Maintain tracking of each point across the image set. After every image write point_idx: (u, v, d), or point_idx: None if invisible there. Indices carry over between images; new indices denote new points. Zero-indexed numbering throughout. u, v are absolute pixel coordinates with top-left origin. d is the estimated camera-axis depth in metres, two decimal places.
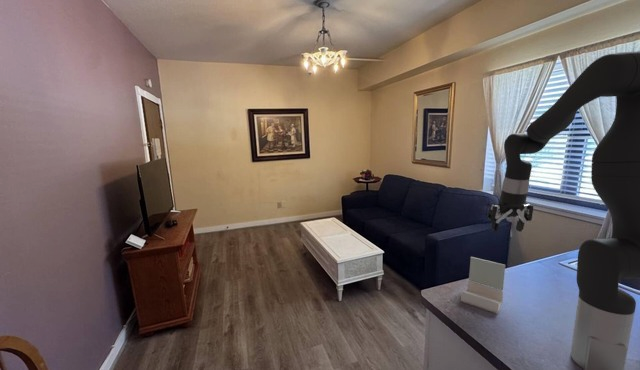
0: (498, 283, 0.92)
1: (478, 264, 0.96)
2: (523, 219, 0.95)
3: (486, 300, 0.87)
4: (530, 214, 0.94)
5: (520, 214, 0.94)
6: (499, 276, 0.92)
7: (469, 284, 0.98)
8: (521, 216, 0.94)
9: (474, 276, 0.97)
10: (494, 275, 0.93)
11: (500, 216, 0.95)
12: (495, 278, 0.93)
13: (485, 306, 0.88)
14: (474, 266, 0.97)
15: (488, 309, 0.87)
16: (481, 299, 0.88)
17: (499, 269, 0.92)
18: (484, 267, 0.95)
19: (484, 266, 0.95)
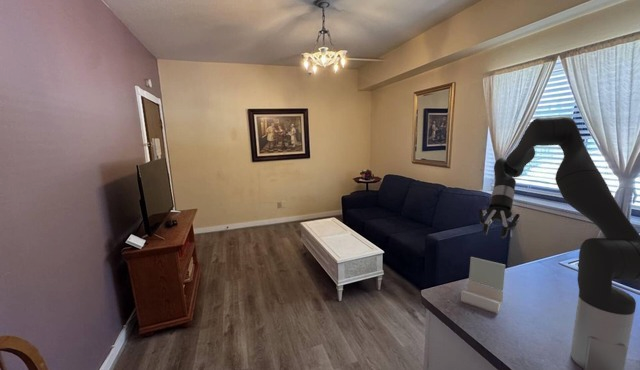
0: (498, 283, 0.92)
1: (478, 264, 0.96)
2: (504, 223, 1.00)
3: (486, 300, 0.87)
4: (514, 221, 0.99)
5: (503, 216, 1.01)
6: (499, 276, 0.92)
7: (469, 284, 0.98)
8: (503, 218, 1.01)
9: (474, 276, 0.97)
10: (494, 275, 0.93)
11: None
12: (495, 278, 0.93)
13: (485, 306, 0.88)
14: (474, 266, 0.97)
15: (488, 309, 0.87)
16: (481, 299, 0.88)
17: (499, 269, 0.92)
18: (484, 267, 0.95)
19: (484, 266, 0.95)
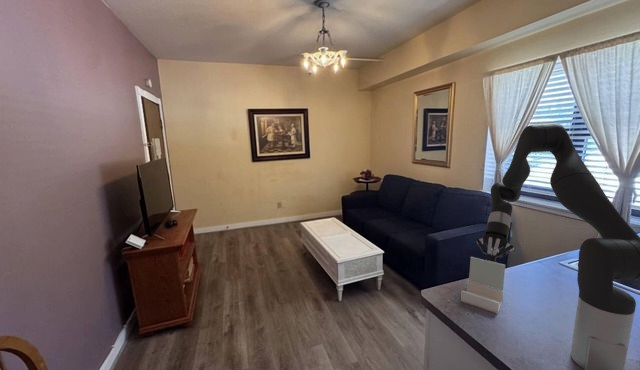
0: (498, 283, 0.92)
1: (478, 264, 0.96)
2: (493, 251, 1.00)
3: (486, 300, 0.87)
4: (504, 250, 0.98)
5: (496, 244, 1.00)
6: (499, 276, 0.92)
7: (469, 284, 0.98)
8: (495, 246, 1.00)
9: (474, 276, 0.97)
10: (494, 275, 0.93)
11: (488, 247, 1.02)
12: (495, 278, 0.93)
13: (485, 306, 0.88)
14: (474, 266, 0.97)
15: (488, 309, 0.87)
16: (481, 299, 0.88)
17: (499, 269, 0.92)
18: (484, 267, 0.95)
19: (484, 266, 0.95)
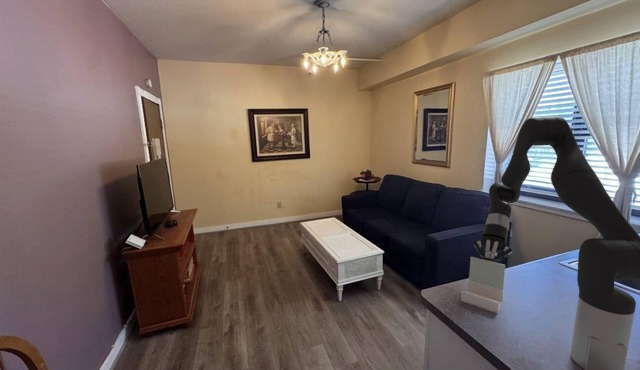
0: (498, 283, 0.92)
1: (478, 264, 0.96)
2: (491, 255, 0.96)
3: (486, 300, 0.87)
4: (503, 254, 0.95)
5: (494, 248, 0.97)
6: (499, 276, 0.92)
7: (469, 284, 0.98)
8: (493, 250, 0.96)
9: (474, 276, 0.97)
10: (494, 275, 0.93)
11: (485, 250, 0.98)
12: (495, 278, 0.93)
13: (485, 306, 0.88)
14: (474, 266, 0.97)
15: (488, 309, 0.87)
16: (481, 299, 0.88)
17: (499, 269, 0.92)
18: (484, 267, 0.95)
19: (484, 266, 0.95)
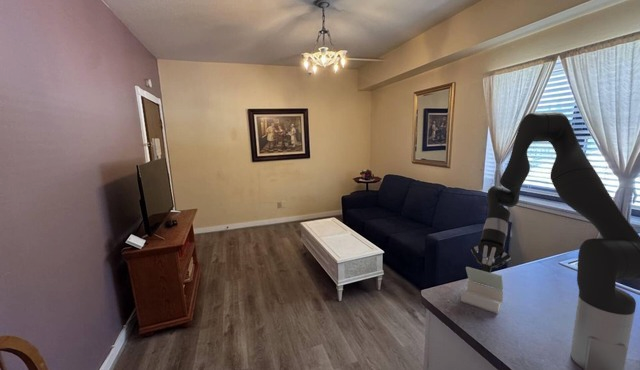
0: (497, 286, 0.91)
1: (474, 273, 0.93)
2: (488, 261, 0.93)
3: (486, 300, 0.87)
4: (500, 260, 0.91)
5: (492, 254, 0.94)
6: (497, 282, 0.90)
7: (469, 284, 0.98)
8: (491, 256, 0.93)
9: (473, 279, 0.96)
10: (492, 281, 0.91)
11: (483, 256, 0.95)
12: (493, 283, 0.91)
13: (485, 306, 0.88)
14: (471, 273, 0.94)
15: (488, 309, 0.87)
16: (481, 299, 0.88)
17: (496, 279, 0.89)
18: (481, 275, 0.92)
19: (481, 275, 0.92)
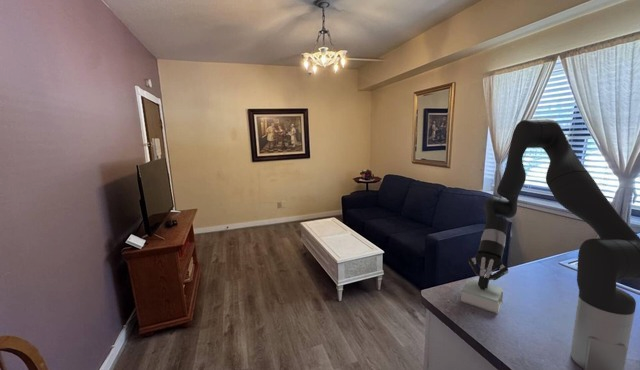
0: None
1: None
2: (486, 273, 0.92)
3: (486, 300, 0.87)
4: (498, 273, 0.90)
5: (490, 266, 0.92)
6: None
7: None
8: (489, 268, 0.92)
9: None
10: None
11: None
12: None
13: (485, 306, 0.88)
14: None
15: (488, 309, 0.87)
16: (481, 299, 0.88)
17: None
18: None
19: None
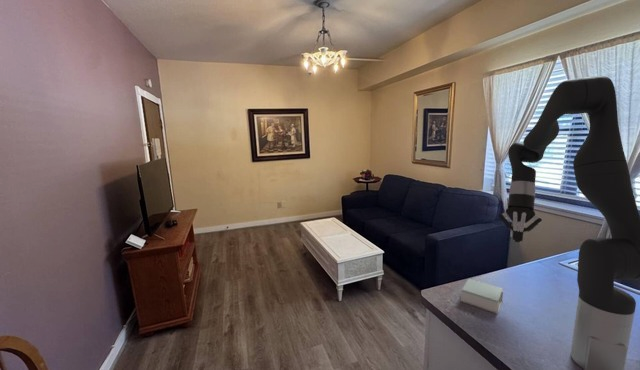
0: None
1: None
2: None
3: (486, 300, 0.87)
4: (532, 225, 0.91)
5: (523, 219, 0.93)
6: None
7: None
8: (522, 222, 0.93)
9: None
10: None
11: (513, 223, 0.95)
12: None
13: (485, 306, 0.88)
14: None
15: (488, 309, 0.87)
16: (481, 299, 0.88)
17: None
18: None
19: None
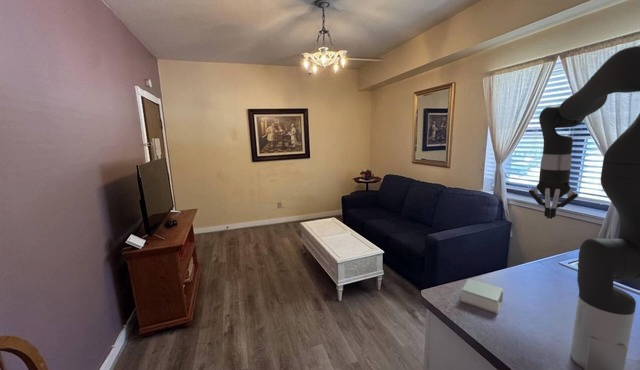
0: None
1: None
2: (552, 204, 0.88)
3: (486, 300, 0.87)
4: (567, 201, 0.85)
5: (556, 196, 0.86)
6: None
7: None
8: (555, 199, 0.87)
9: None
10: None
11: (545, 199, 0.89)
12: None
13: (485, 306, 0.88)
14: None
15: (488, 309, 0.87)
16: (481, 299, 0.88)
17: None
18: None
19: None
